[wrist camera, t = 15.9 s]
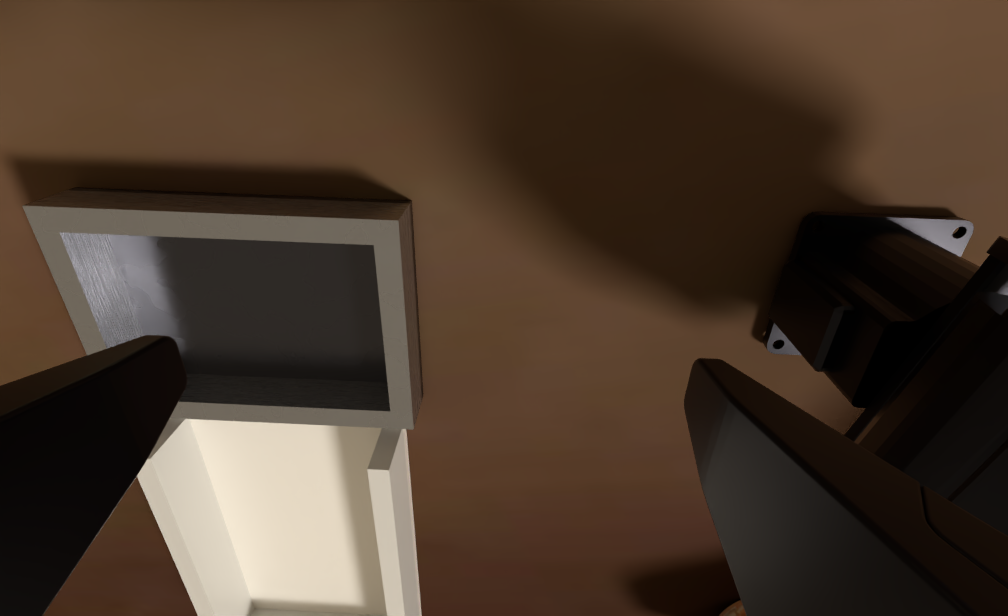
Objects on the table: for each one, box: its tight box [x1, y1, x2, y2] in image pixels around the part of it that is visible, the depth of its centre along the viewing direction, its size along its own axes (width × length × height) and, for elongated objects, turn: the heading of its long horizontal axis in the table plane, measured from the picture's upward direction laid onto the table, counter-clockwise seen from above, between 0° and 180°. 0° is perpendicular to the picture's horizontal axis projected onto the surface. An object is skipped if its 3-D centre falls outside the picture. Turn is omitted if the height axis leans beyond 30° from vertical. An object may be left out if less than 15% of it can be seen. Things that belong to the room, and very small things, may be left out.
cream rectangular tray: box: [137, 418, 422, 616], centre depth 29 cm, size 12×18×4 cm, turn 178°
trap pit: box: [23, 188, 423, 429], centre depth 22 cm, size 14×10×2 cm
